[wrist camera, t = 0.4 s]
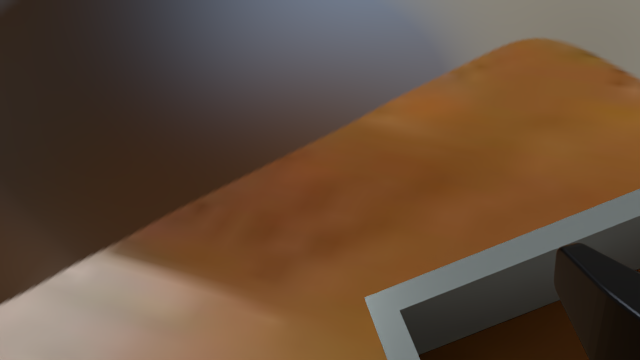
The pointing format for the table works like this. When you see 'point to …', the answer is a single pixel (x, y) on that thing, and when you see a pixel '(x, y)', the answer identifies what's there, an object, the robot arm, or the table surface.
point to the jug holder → (498, 280)
